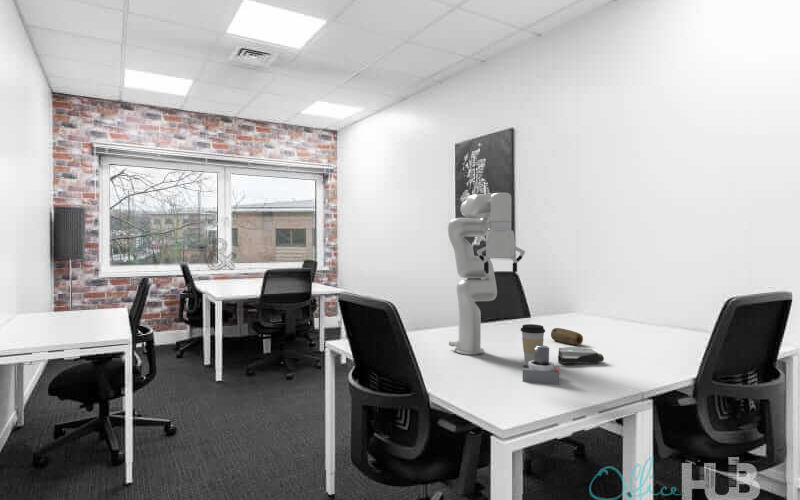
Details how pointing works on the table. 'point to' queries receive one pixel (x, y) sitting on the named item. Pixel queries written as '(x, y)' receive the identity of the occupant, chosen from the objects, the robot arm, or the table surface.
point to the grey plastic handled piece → (578, 355)
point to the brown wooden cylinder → (566, 336)
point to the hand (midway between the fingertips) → (500, 273)
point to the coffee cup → (531, 339)
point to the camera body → (540, 373)
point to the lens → (541, 355)
